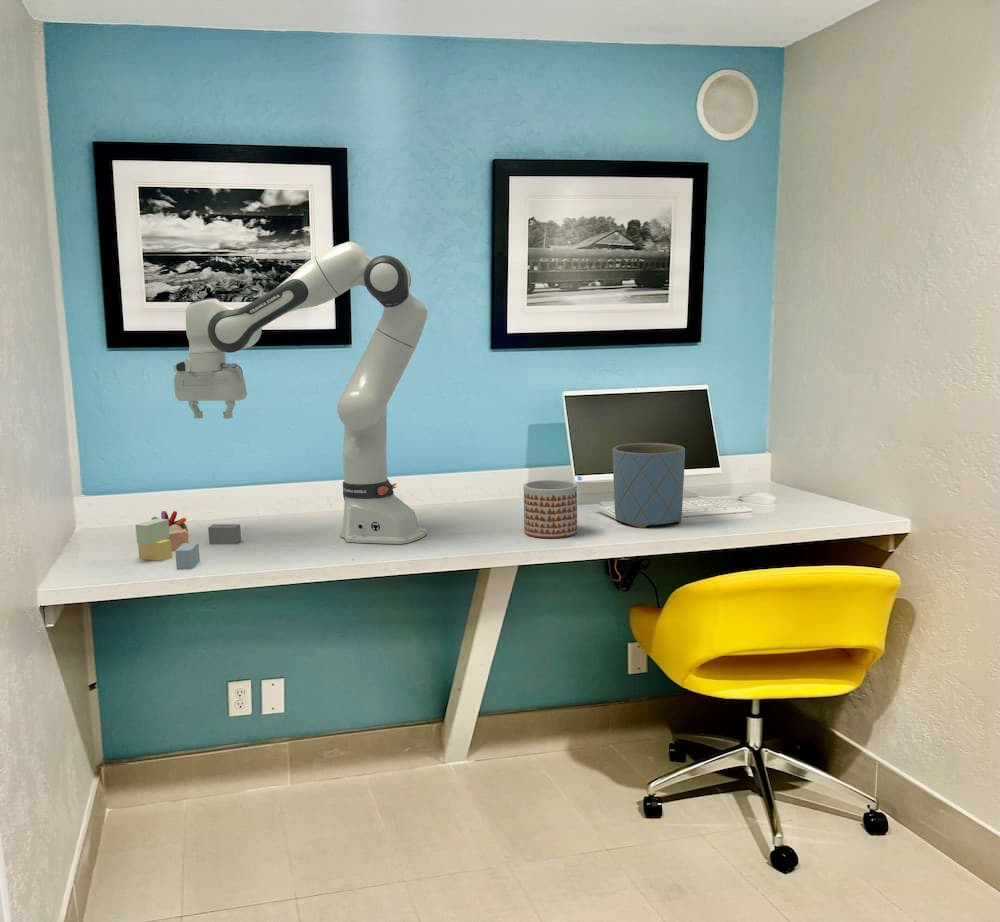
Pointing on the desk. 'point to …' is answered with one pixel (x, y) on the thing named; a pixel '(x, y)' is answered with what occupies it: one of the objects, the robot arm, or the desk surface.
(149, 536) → the sage brick
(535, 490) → the vase
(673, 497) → the planter
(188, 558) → the slate brick
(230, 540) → the charcoal brick
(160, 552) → the ochre brick
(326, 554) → the desk surface
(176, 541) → the terracotta brick
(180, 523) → the multicolored fanned-prong toy
